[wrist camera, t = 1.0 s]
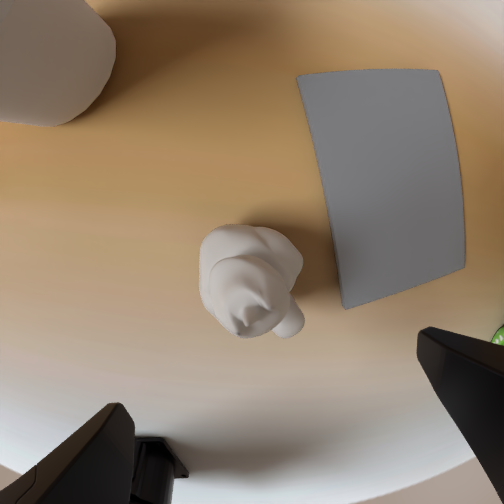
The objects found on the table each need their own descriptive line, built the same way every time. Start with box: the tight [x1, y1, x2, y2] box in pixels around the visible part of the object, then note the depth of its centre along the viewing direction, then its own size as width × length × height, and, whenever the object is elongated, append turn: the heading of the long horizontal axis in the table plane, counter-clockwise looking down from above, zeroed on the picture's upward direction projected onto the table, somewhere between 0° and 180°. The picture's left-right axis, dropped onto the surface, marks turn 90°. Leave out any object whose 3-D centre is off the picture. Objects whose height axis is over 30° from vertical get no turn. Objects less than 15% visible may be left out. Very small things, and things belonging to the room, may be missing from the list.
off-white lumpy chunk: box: [199, 224, 305, 338], centre depth 14 cm, size 5×7×8 cm
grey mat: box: [296, 69, 465, 310], centre depth 16 cm, size 14×10×1 cm
